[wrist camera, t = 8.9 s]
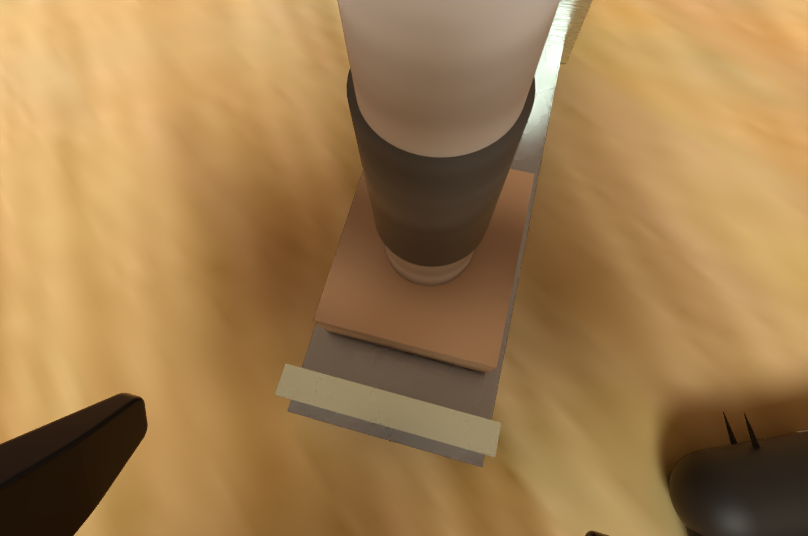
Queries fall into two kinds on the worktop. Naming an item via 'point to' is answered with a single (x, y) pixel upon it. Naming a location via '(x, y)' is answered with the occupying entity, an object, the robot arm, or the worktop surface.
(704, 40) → the worktop surface
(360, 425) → the rail
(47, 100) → the worktop surface
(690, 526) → the door handle
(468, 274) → the carriage
